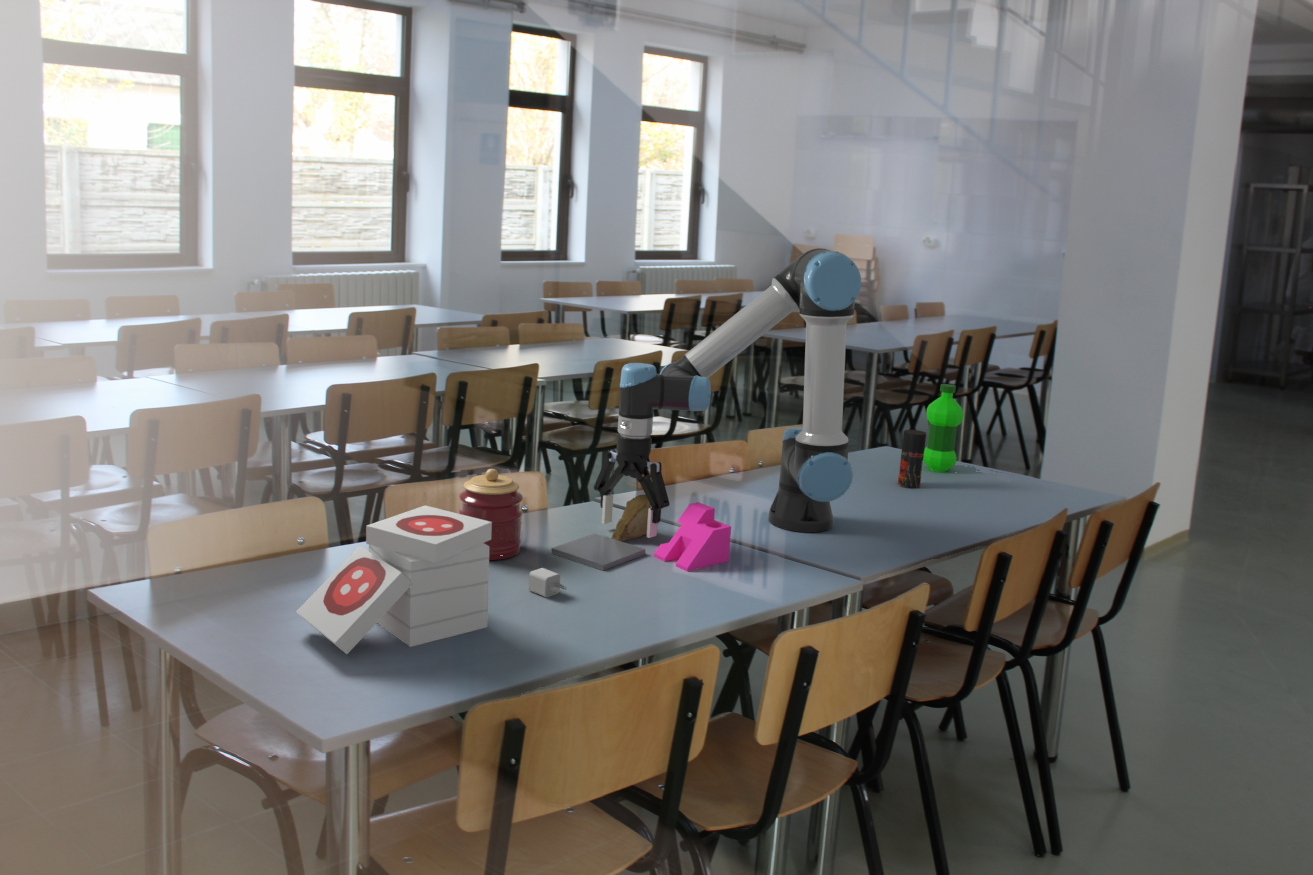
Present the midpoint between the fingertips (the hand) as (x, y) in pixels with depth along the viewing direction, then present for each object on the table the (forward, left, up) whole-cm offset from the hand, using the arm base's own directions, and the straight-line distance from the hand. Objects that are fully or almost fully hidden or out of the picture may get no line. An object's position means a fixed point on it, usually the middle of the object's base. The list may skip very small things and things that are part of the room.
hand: (628, 529), depth 241 cm
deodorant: (-26, -91, -2) cm, 95 cm away
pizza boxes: (-4, +68, -2) cm, 68 cm away
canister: (+14, +29, -2) cm, 32 cm away
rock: (0, 0, -2) cm, 2 cm away
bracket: (-18, +2, -2) cm, 19 cm away
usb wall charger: (-11, +38, -2) cm, 40 cm away
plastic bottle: (-25, -115, -2) cm, 117 cm away
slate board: (-3, +14, -1) cm, 14 cm away
